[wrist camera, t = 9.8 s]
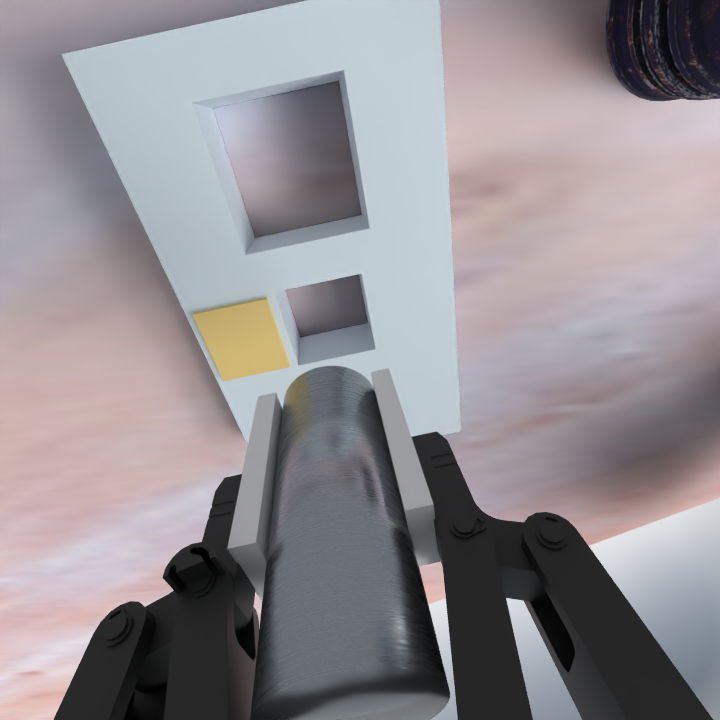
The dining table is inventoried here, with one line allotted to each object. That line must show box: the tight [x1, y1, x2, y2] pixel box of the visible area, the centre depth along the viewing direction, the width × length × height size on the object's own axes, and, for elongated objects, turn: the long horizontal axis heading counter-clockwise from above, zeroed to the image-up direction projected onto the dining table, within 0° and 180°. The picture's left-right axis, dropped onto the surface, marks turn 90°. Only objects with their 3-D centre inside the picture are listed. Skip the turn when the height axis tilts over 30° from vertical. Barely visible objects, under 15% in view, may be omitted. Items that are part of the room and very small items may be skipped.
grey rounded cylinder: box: [250, 366, 450, 720], centre depth 12 cm, size 4×4×10 cm
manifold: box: [61, 0, 461, 445], centre depth 24 cm, size 16×26×4 cm, turn 11°
